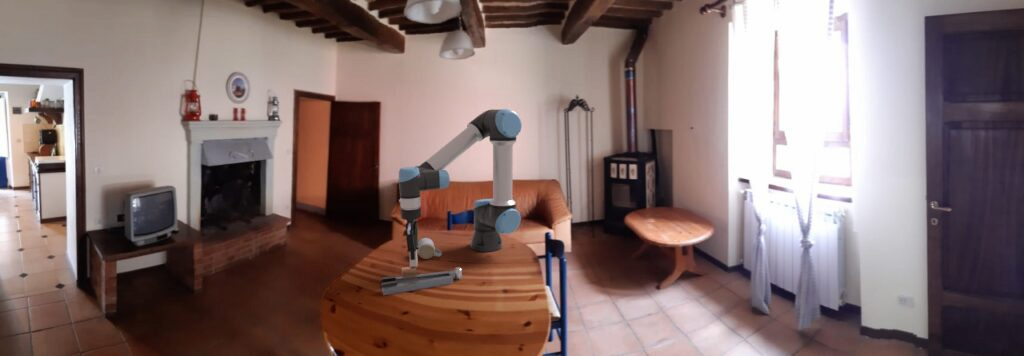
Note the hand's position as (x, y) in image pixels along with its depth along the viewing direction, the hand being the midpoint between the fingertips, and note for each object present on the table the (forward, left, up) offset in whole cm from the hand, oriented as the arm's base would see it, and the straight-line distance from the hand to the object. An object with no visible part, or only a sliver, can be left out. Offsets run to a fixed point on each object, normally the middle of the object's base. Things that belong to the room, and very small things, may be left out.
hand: (413, 266), depth 158 cm
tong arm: (-1, +8, -3) cm, 9 cm away
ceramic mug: (-10, -18, -4) cm, 21 cm away
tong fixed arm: (+1, +13, -3) cm, 13 cm away
